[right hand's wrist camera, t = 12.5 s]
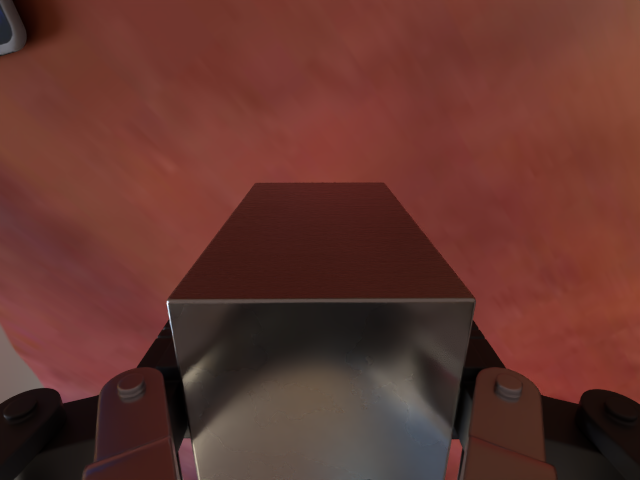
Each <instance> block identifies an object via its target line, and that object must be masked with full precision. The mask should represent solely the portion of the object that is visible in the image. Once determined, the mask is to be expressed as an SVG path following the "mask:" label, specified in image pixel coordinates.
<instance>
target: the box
mask: <svg viewBox="0 0 640 480" xmlns="http://www.w3.org/2000/svg"><path fill="white" fill-rule="evenodd" d="M475 304H476V300H475V297H474V296H473V295H472V294H471V292H470V291H469V290H468V289H467V287H466V286H465V285H464V283H463V282H462V281H461V280H460V278H459V277H458V276H457V275H456V273H455V272H454V271H453V270H452V268H451V267H450V266H449V264H448V263H447V262H446V261H445V259H444V258H443V257H442V256H441V254H440V253H439V252H438V251H437V249H436V248H435V247H434V245H433V244H432V243H431V242H430V240H429V239H428V238H427V237H426V235H425V234H424V233H423V232H422V230H421V229H420V228H419V226H418V225H417V224H416V223H415V221H414V220H413V219H412V218H411V216H410V215H409V214H408V213H407V211H406V210H405V209H404V207H403V206H402V205H401V204H400V202H399V201H398V200H397V199H396V197H395V196H394V195H393V194H392V192H391V191H390V190H389V188H388V187H387V186H386V185H385V183H255V184H254V185H253V187H252V188H251V189H250V191H249V192H248V193H247V195H246V196H245V197H244V199H243V200H242V201H241V203H240V204H239V205H238V207H237V208H236V209H235V211H234V212H233V213H232V215H231V216H230V217H229V219H228V220H227V221H226V222H225V224H224V225H223V226H222V228H221V229H220V230H219V232H218V233H217V234H216V236H215V237H214V238H213V240H212V241H211V242H210V244H209V245H208V246H207V248H206V249H205V250H204V252H203V253H202V254H201V256H200V257H199V258H198V259H197V261H196V262H195V263H194V265H193V266H192V267H191V269H190V270H189V271H188V273H187V274H186V275H185V277H184V278H183V279H182V281H181V282H180V283H179V285H178V286H177V287H176V289H175V290H174V291H173V292H172V294H171V295H170V296H169V298H168V299H167V307H168V313H169V319H170V324H171V330H172V336H173V341H174V347H175V353H176V358H177V364H178V370H179V375H180V381H181V387H182V392H183V398H184V404H185V409H186V415H187V421H188V426H189V432H190V438H191V443H192V449H193V455H194V460H195V466H196V472H197V477H198V480H445V474H446V469H447V463H448V457H449V452H450V446H451V440H452V435H453V429H454V423H455V418H456V412H457V406H458V401H459V395H460V389H461V383H462V378H463V372H464V366H465V361H466V355H467V349H468V344H469V338H470V332H471V327H472V321H473V315H474V310H475Z"/></svg>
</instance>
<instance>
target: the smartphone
mask: <svg viewBox="0 0 640 480" xmlns="http://www.w3.org/2000/svg"><path fill="white" fill-rule="evenodd" d="M26 40H27V34H26V30H25V27H24V25H23V23H22V20H21V18H20V16H19V14H18V12H17V10H16V8H15V5H14V3H13V1H12V0H0V56H2V55H6V54H9V53H13V52H16V51H19V50H21V49H22V48H23V47H24V45H25V43H26Z"/></svg>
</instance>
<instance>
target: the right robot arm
mask: <svg viewBox="0 0 640 480" xmlns="http://www.w3.org/2000/svg"><path fill="white" fill-rule="evenodd" d="M183 438H190V432H189V426H188V421H187V415H186V409H185V404H184V398H183V392H182V387H181V381H180V375H179V370H178V364H177V358H176V353H175V347H174V341H173V336H172V330H171V324H170V319H169V320H168V322H167V323H166V325H165V326H164V330H162V331H161V332H160V334H159V335H158V338H157V339H156V340H155V341H154V343H153V344H152V346H151V347H150V348H149V350H148V351H147V353H146V354H145V356H144V357H143V359H142V360H141V362H140V363H139V365H138V366H137V368H135V369H131V370H128V371H125V372H123V373H121V374H119V375H117V376H115V377H114V378H112V379H111V380H110V381H109V382H107V383H106V384H105V386H104V387H103V388H102V390H101V391H100V394H99V395H97V396H94V397H89V398H85V399H81V400H76V401H72V402H68V403H64V404H63V403H62V400H61V397H60V394H59V393H58V392H57V391H56V390H54V389H50V388H39V389H33V390H29V391H26V392H23V393H20V394H18V395H16V396H13V397H11V398H9V399H8V400H6V401H4V402H3V403H1V404H0V480H183V477H182V470H181V464H180V458H179V453H178V451H179V448H180V446H181V443H182V441H183ZM452 439H459V440H460V442H461V445H462V447H463V448H462V453H461V458H460V464H459V470H458V476H457V480H640V404H638V403H637V402H635V401H633V400H632V399H630V398H628V397H625V396H623V395H621V394H618V393H615V392H611V391H607V390H600V389H593V390H588V391H586V392H584V393H583V394H582V396H581V399H580V402H579V404H576V403H571V402H567V401H563V400H558V399H554V398H550V397H546V396H543V395H541V394H540V391H539V390H538V388H537V387H536V386H535V384H534V383H533V382H531V381H530V380H529V379H528V378H526V377H525V376H523V375H521V374H519V373H517V372H515V371H512V370H509V369H506V367H505V366H504V365H503V363H502V362H501V360H500V359H499V357H498V356H497V354H496V353H495V351H494V350H493V348H492V347H491V346H490V344H489V343H488V341H487V340H486V339H485V337H484V335H483V334H482V332H481V331H480V330H479V329H478V327H477V325H476V324H475V322H474V321H472V327H471V332H470V338H469V344H468V349H467V355H466V361H465V366H464V372H463V378H462V383H461V389H460V395H459V401H458V406H457V412H456V418H455V423H454V429H453V435H452Z"/></svg>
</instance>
